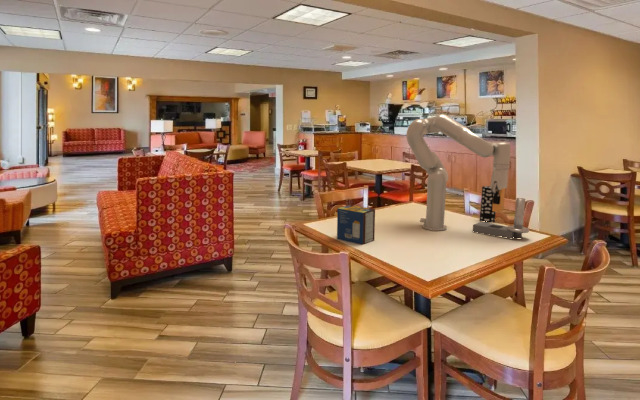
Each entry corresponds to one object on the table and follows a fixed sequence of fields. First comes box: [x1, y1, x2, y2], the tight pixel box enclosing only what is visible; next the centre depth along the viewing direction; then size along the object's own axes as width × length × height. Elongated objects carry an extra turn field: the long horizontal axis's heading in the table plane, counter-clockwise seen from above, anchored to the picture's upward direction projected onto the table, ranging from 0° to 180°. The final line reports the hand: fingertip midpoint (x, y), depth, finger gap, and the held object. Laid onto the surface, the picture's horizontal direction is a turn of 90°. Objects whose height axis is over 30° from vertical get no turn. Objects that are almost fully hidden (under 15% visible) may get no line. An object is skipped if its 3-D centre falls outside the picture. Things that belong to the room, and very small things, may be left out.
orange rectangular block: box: [492, 188, 506, 213], centre depth 214 cm, size 4×4×12 cm
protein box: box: [336, 204, 376, 245], centre depth 204 cm, size 10×15×16 cm
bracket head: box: [472, 221, 514, 238], centre depth 217 cm, size 20×9×4 cm, turn 45°
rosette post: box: [507, 197, 530, 238], centre depth 208 cm, size 10×10×20 cm
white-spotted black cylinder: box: [479, 185, 497, 223], centre depth 245 cm, size 8×8×20 cm
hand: (498, 202), depth 214 cm, fingers closed on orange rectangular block, 4 cm apart
